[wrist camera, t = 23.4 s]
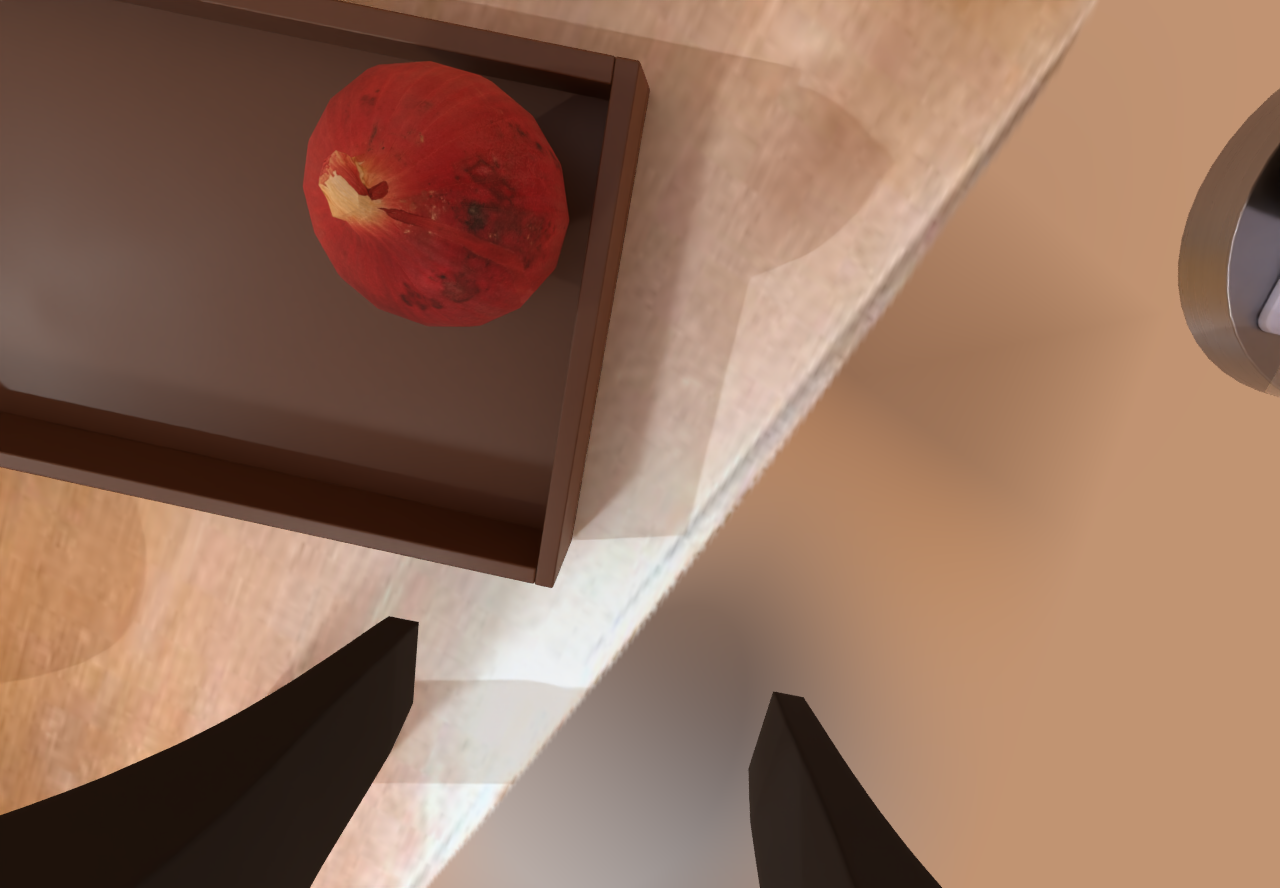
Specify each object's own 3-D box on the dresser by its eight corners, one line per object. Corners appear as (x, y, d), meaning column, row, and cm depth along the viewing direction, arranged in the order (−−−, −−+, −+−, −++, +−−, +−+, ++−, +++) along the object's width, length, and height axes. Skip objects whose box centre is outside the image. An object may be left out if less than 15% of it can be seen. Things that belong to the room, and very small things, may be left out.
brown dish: (650, 88, 17) (640, 60, 14) (571, 541, 22) (552, 588, 20) (-342, -113, 18) (-545, -178, 15) (-196, 374, 23) (-325, 396, 20)
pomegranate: (615, 137, 17) (549, 71, 10) (561, 332, 19) (472, 402, 12) (417, 68, 17) (196, -53, 10) (383, 271, 19) (179, 303, 12)
